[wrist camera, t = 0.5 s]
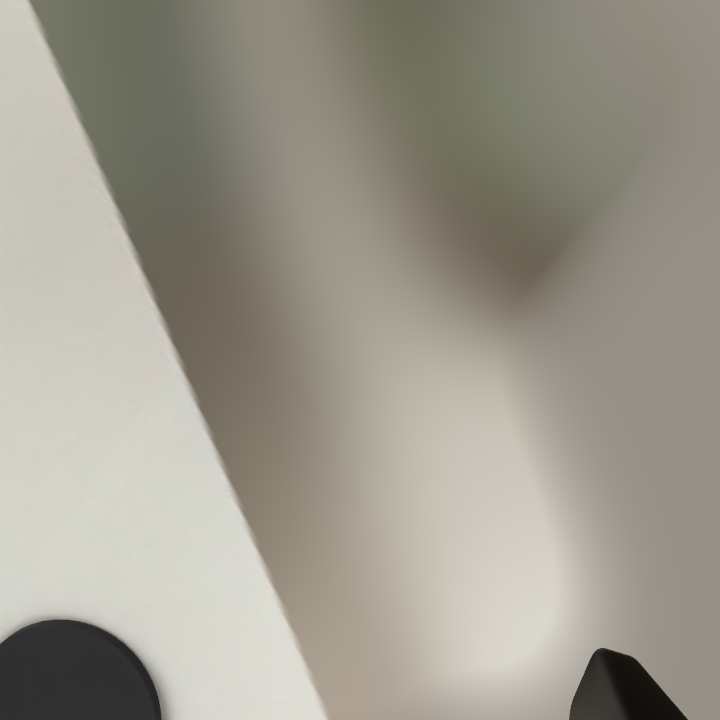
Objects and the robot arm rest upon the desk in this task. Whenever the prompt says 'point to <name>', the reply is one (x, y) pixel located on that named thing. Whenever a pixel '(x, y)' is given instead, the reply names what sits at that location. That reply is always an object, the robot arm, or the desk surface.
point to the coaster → (72, 676)
